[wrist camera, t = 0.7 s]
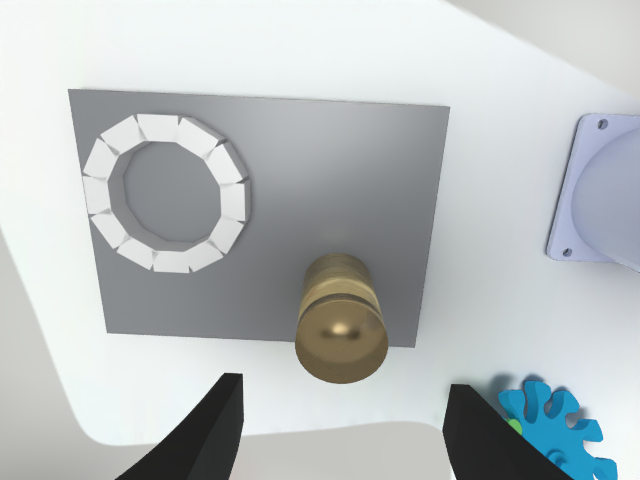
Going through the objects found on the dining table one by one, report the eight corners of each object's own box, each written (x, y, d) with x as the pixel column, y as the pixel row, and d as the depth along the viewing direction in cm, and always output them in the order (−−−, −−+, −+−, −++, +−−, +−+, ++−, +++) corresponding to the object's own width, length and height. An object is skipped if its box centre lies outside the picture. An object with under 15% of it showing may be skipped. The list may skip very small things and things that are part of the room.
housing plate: (444, 107, 19) (460, 106, 17) (411, 338, 24) (420, 362, 22) (80, 90, 19) (46, 86, 17) (115, 324, 24) (92, 347, 22)
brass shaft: (375, 254, 21) (392, 306, 15) (368, 316, 22) (383, 385, 17) (304, 251, 21) (296, 301, 15) (302, 313, 22) (294, 381, 17)
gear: (639, 440, 24) (622, 626, 19) (558, 432, 29) (528, 578, 24) (509, 338, 24) (456, 503, 19) (450, 348, 29) (397, 480, 24)
